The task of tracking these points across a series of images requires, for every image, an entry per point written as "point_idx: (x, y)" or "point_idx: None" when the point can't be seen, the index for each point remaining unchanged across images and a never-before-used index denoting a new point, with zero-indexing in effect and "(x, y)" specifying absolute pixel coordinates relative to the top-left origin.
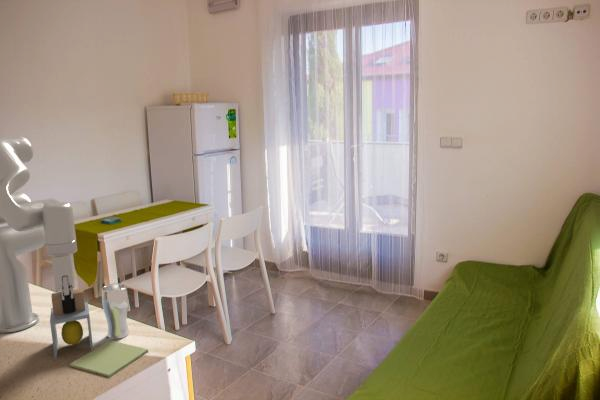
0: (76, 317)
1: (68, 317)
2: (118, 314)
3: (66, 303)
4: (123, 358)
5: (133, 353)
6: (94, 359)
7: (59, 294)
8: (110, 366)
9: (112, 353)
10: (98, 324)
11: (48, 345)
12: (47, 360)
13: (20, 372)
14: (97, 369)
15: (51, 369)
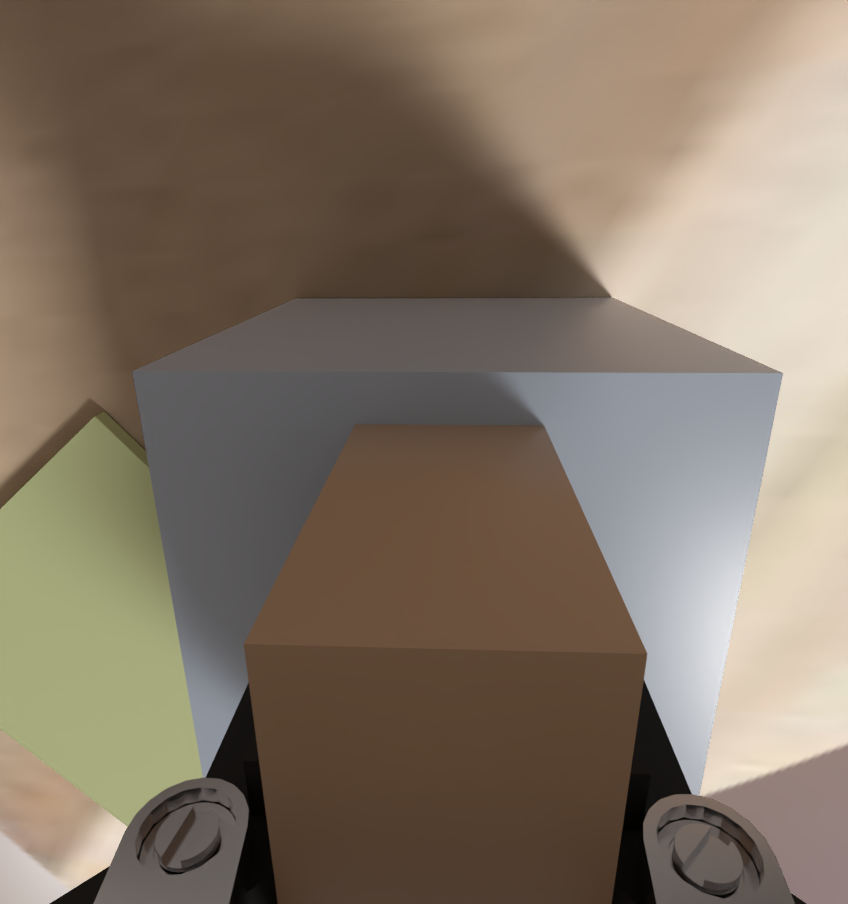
0: (193, 691)
1: (202, 613)
2: None
3: (218, 771)
4: (69, 718)
5: (117, 770)
6: (109, 571)
7: (411, 837)
8: None
9: (161, 673)
10: (759, 625)
11: (570, 236)
12: (263, 240)
13: (116, 9)
14: None
15: (92, 278)
